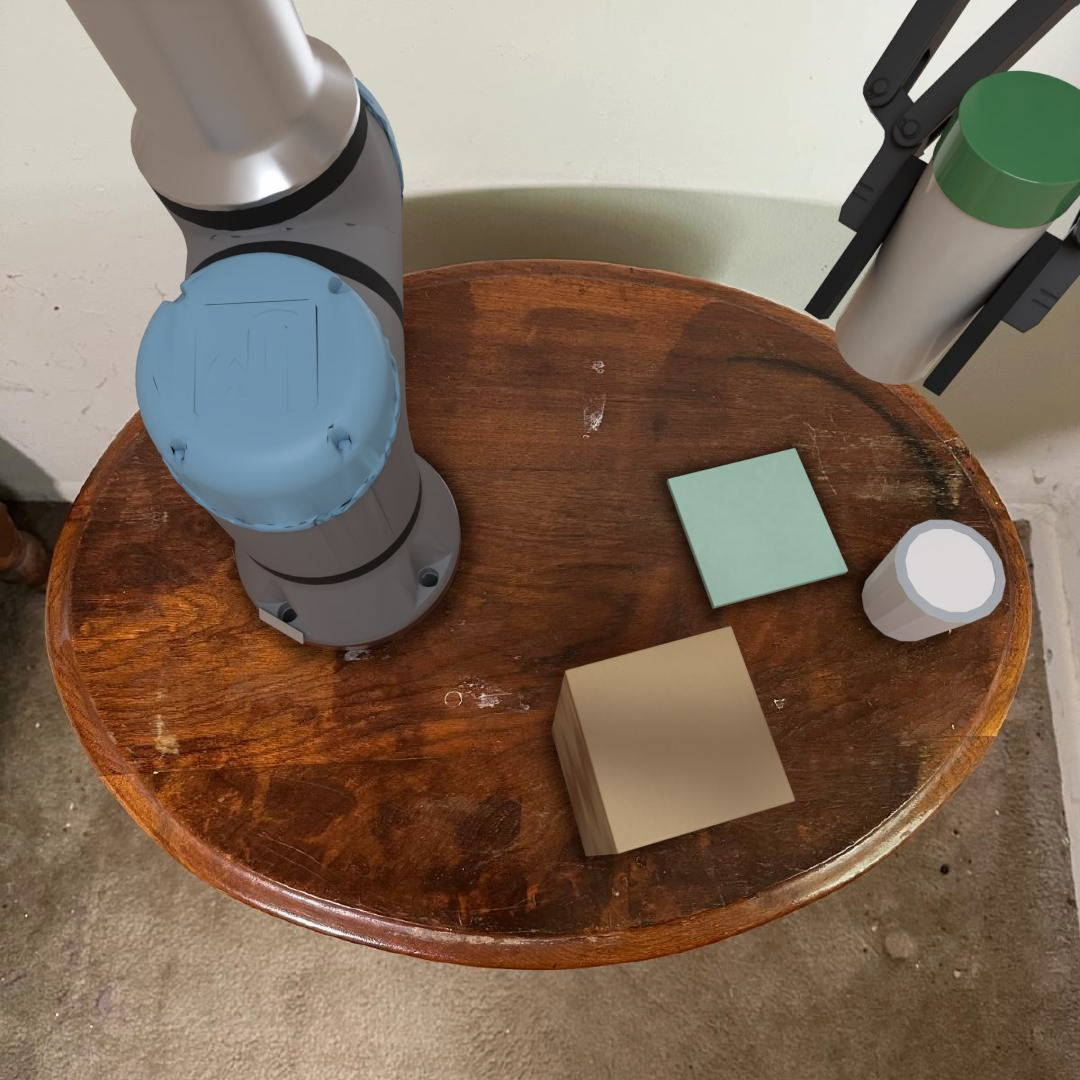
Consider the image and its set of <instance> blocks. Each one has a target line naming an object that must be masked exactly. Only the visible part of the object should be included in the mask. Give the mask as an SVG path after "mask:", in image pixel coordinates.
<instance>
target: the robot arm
mask: <svg viewBox="0 0 1080 1080" xmlns="http://www.w3.org/2000/svg"><path fill="white" fill-rule="evenodd" d="M65 2H66V3H67V5H68V6H69V8H70V10H71V11H72V12H73V14H74V16H75V18H76V19H77V20H78V22H79V23H80V25H81V27H82V28H83V30H84V31H85V33H86V34H87V36H88V37H89V39H90V40H91V42H92V44H93V45H94V46H95V48H96V49H97V51H98V52H99V54H100V56H101V57H102V58H103V60H104V62H105V63H106V64H107V66H108V67H109V69H110V71H111V72H112V74H113V75H114V77H115V78H116V80H117V81H118V83H119V84H120V86H121V87H122V89H123V90H124V92H125V93H126V95H127V97H128V98H129V100H130V101H131V102H132V104H133V106H134V107H135V109H136V110H135V113H134V115H133V119H132V123H131V128H130V142H129V143H130V149H131V153H132V156H133V159H134V161H135V164H136V167H137V169H138V170H139V173H141V175H142V177H143V178H144V179H145V181H146V182H147V184H148V185H149V186H150V188H151V190H152V191H153V192H154V194H155V195H156V196H157V198H158V199H159V201H160V202H161V203H162V205H163V206H164V208H165V209H166V210H167V212H168V213H169V215H170V216H171V218H172V219H173V220H174V222H175V223H176V225H177V226H178V228H179V230H180V232H181V233H182V235H183V238H184V241H185V246H186V251H187V252H186V262H185V273H184V280H183V281H182V282H181V283H180V285H179V289H180V292H181V293H180V294H179V296H177V297H176V298H175V299H174V300H173V301H171V300H163V301H161V302H160V304H159V305H158V307H157V308H156V309H155V311H154V312H153V314H152V315H151V318H150V320H149V321H148V324H147V326H146V328H145V330H144V332H143V334H142V337H141V340H140V343H139V347H138V350H137V356H136V361H135V376H134V379H135V381H134V382H135V385H134V386H135V394H136V400H137V405H138V408H139V412H140V416H141V419H142V423H143V424H144V427H145V429H146V431H147V434H148V436H149V438H150V439H151V441H152V442H153V444H154V446H155V448H156V450H157V452H158V453H159V454H160V455H161V459H162V461H163V463H164V464H165V465H166V467H167V468H168V470H169V472H170V474H171V476H172V477H173V478H174V480H175V481H176V483H177V484H178V485H180V487H181V488H183V489H184V491H185V492H186V493H187V494H188V495H189V496H190V498H192V500H193V501H194V502H195V503H197V504H198V505H200V506H201V507H203V508H204V509H205V510H206V511H207V512H208V514H209V515H210V516H211V517H212V518H213V519H214V520H215V521H216V522H217V523H218V524H219V526H220V527H221V528H222V529H223V530H224V531H225V532H226V533H227V534H228V535H229V536H230V538H232V540H234V555H235V563H236V568H237V572H238V575H239V579H240V582H241V584H242V586H243V588H244V591H245V593H246V594H247V596H248V599H249V600H250V602H251V603H252V604H253V605H254V606H255V608H256V609H257V610H258V614H259V615H258V617H259V620H261V621H262V622H265V624H268V625H269V626H271V627H273V628H275V629H276V630H278V631H280V632H281V633H283V634H285V635H286V636H288V637H289V638H292V639H293V640H294V641H296V642H298V643H299V644H302V645H304V644H305V645H308V646H311V647H315V648H318V649H324V650H331V651H356V650H365V649H369V648H374V647H377V646H381V645H385V644H387V643H389V642H391V641H394V640H396V639H398V638H400V637H402V636H404V635H406V634H407V633H409V632H410V631H412V630H414V629H415V628H416V627H417V626H419V625H420V624H422V623H423V622H424V621H425V620H426V619H427V618H428V617H429V616H430V615H431V614H433V612H434V611H435V610H436V609H437V607H438V606H439V605H440V604H441V603H442V601H443V600H444V598H445V597H446V595H447V594H448V592H449V590H450V589H451V586H452V584H453V582H454V579H455V578H456V575H457V572H458V568H459V565H460V560H461V554H462V529H461V523H460V518H459V512H458V508H457V506H456V502H455V499H454V497H453V495H452V493H451V491H450V489H449V487H448V485H447V484H446V482H445V481H444V480H443V478H442V477H441V475H440V474H439V472H437V471H436V470H435V468H434V467H433V466H432V465H431V464H430V463H429V462H427V460H425V459H424V458H423V457H422V456H420V455H419V454H417V453H416V452H415V448H414V444H413V440H412V437H411V433H410V428H409V419H408V410H407V395H406V393H407V391H406V390H407V389H406V357H405V356H406V355H405V354H406V353H405V352H406V351H405V329H404V328H405V325H404V317H405V315H404V266H403V265H404V264H403V263H404V261H403V259H404V258H403V212H402V211H403V207H404V194H403V193H404V188H405V182H404V180H405V179H404V170H403V163H402V160H401V156H400V153H399V148H398V146H397V141H396V138H395V137H396V136H395V134H394V131H393V127H392V126H391V123H390V120H389V119H388V116H387V114H386V113H385V111H384V109H383V107H382V106H381V105H380V103H379V102H378V100H377V99H376V97H375V96H374V95H373V93H372V92H371V91H370V90H369V89H368V88H367V86H365V85H364V84H363V83H362V81H361V80H359V79H358V77H356V76H355V75H354V72H353V71H352V69H351V67H350V66H349V64H348V62H347V61H346V59H345V58H344V57H343V56H342V55H341V54H340V53H339V52H338V50H336V49H335V48H334V47H332V46H331V45H330V44H328V43H327V42H325V41H323V40H321V39H319V38H317V37H315V36H312V35H310V34H307V33H306V32H305V29H304V26H303V23H302V21H301V18H300V16H299V13H298V11H297V8H296V6H295V3H294V0H65ZM970 2H971V0H916V1H915V2H914V4H913V5H912V7H911V9H910V10H909V12H908V13H907V15H906V17H905V18H904V19H903V21H902V22H901V24H900V26H899V28H898V29H897V30H896V32H895V34H894V35H893V37H892V39H891V40H890V42H889V43H888V44H887V46H886V48H885V49H884V51H883V53H882V54H881V55H880V57H879V59H878V60H877V61H876V63H875V65H874V67H873V68H872V70H871V71H870V73H869V75H867V77H866V79H865V81H864V83H863V86H862V97H863V98H864V101H865V103H866V105H867V107H868V109H869V112H870V114H872V116H873V117H874V118H875V120H876V121H877V122H878V123H879V125H880V126H881V128H882V129H883V132H884V134H883V135H884V136H883V142H882V144H881V146H880V147H879V149H878V151H877V153H876V154H875V156H874V157H873V159H872V160H871V162H870V163H869V164H868V166H867V167H866V170H865V171H864V172H863V174H862V175H861V177H860V178H859V180H858V181H857V183H856V184H855V185H854V187H853V189H852V190H851V192H849V194H848V196H847V198H846V199H845V200H844V202H843V203H842V205H841V208H840V211H839V215H838V220H837V222H838V223H840V224H841V225H843V226H844V227H846V228H848V229H849V230H851V231H853V232H854V233H855V234H854V235H853V237H852V239H851V240H850V241H849V243H848V245H847V246H846V247H845V249H844V250H843V252H842V253H841V255H840V256H839V257H838V259H837V260H836V262H835V264H834V265H833V266H832V268H831V269H830V271H829V272H828V274H827V275H826V277H825V278H824V279H823V281H822V282H821V284H820V285H819V287H818V288H817V290H816V291H815V293H814V294H813V296H812V297H811V298H810V300H809V301H808V303H807V304H806V306H805V307H804V309H803V311H805V312H806V313H807V314H809V315H811V316H812V317H814V318H815V319H817V320H819V321H823V320H829V319H830V317H831V316H832V314H833V313H834V312H835V310H836V309H837V307H838V306H839V305H840V304H841V302H842V301H843V299H844V298H845V296H846V295H847V293H848V292H849V291H850V289H851V288H852V286H853V285H854V283H855V282H856V281H857V280H858V278H859V276H860V275H861V274H862V272H863V271H864V269H865V268H866V266H867V265H869V264H868V263H869V262H871V260H872V259H873V257H874V256H875V254H876V253H877V251H878V249H879V247H880V246H881V244H882V242H883V240H884V239H885V237H886V235H887V234H888V232H889V230H890V228H891V227H892V225H893V223H894V221H895V220H896V218H897V216H898V215H899V213H900V211H901V209H902V208H903V206H904V204H905V202H906V201H907V199H908V197H909V195H910V194H911V192H912V190H913V189H914V187H915V185H916V183H917V182H918V180H919V178H920V176H921V175H922V173H923V171H924V170H925V168H926V166H927V164H928V163H929V162H927V161H925V160H923V159H921V157H922V156H925V150H927V149H928V148H929V147H930V146H931V145H932V144H933V143H934V142H935V141H936V140H938V139H939V138H940V136H941V134H942V133H943V131H944V129H945V127H946V126H947V124H948V122H949V120H950V119H951V117H952V115H953V113H954V112H955V110H956V108H957V106H958V105H959V103H960V101H961V99H962V98H963V96H964V95H965V93H966V92H967V91H968V90H969V88H970V87H971V86H973V85H974V84H975V83H977V82H978V81H979V80H981V79H983V78H985V77H987V76H990V75H992V74H996V73H1000V72H1006V71H1010V70H1011V68H1012V67H1014V65H1015V64H1017V63H1018V62H1019V61H1020V60H1021V59H1022V58H1023V57H1024V56H1025V55H1026V54H1027V53H1028V52H1030V50H1031V49H1033V47H1034V46H1036V44H1038V43H1039V42H1040V41H1041V40H1042V39H1043V38H1044V37H1045V36H1046V35H1047V34H1048V33H1049V32H1051V31H1052V29H1053V28H1054V27H1055V26H1056V25H1058V23H1059V22H1061V21H1062V20H1063V19H1064V18H1065V17H1066V16H1067V15H1068V14H1069V13H1070V12H1071V11H1072V10H1073V9H1074V8H1076V7H1079V6H1080V0H1015V1H1014V2H1013V3H1012V4H1011V5H1010V7H1008V8H1007V9H1006V10H1005V12H1003V13H1002V14H1001V15H1000V16H999V17H998V18H997V19H996V20H995V21H994V22H993V23H992V24H991V26H989V27H988V28H987V29H986V30H985V31H984V32H983V33H982V34H981V35H980V36H979V37H978V38H977V39H976V40H975V41H974V42H973V43H972V44H971V45H970V46H969V47H968V48H967V49H966V50H965V51H964V53H962V54H961V55H960V56H959V57H958V58H957V59H956V60H955V61H954V62H953V63H952V64H951V65H950V66H949V67H948V68H947V69H946V70H945V71H944V72H943V73H942V74H941V75H940V76H939V77H938V78H937V79H936V80H935V81H934V82H933V83H932V84H931V85H930V86H929V87H928V88H927V89H926V90H925V91H923V93H922V94H921V95H920V96H919V97H918V98H917V99H916V100H914V101H913V99H912V98H911V96H910V95H909V93H910V92H911V90H912V89H913V87H914V86H915V84H916V83H917V81H918V80H919V78H921V75H922V74H923V72H924V71H925V70H926V68H927V66H928V65H929V63H930V62H931V60H932V59H933V57H934V56H935V55H936V52H937V51H938V50H939V49H940V47H941V45H942V43H943V42H944V40H945V39H946V38H947V36H948V35H949V33H950V32H951V30H952V28H953V27H954V26H955V24H956V23H957V21H958V20H959V18H960V17H961V15H962V13H963V12H965V11H964V10H965V9H966V8H967V7H968V5H969V3H970ZM1079 277H1080V208H1079V209H1078V211H1077V213H1076V214H1075V217H1074V219H1073V221H1072V223H1071V225H1070V227H1069V228H1068V231H1067V233H1066V234H1065V235H1064V237H1063V238H1062V239H1061V238H1060V237H1058V236H1057V235H1054V234H1053V233H1051V232H1049V231H1048V230H1047V231H1046V232H1045V233H1044V234H1043V235H1042V236H1041V237H1040V239H1039V240H1038V241H1037V242H1036V244H1035V245H1034V246H1033V247H1032V248H1031V250H1030V251H1029V252H1028V253H1027V254H1026V256H1025V257H1024V258H1023V259H1022V260H1021V262H1020V263H1019V264H1018V265H1017V266H1016V268H1015V269H1014V270H1013V271H1012V273H1011V274H1010V275H1009V276H1008V277H1007V279H1006V280H1005V281H1004V282H1003V283H1002V285H1001V286H1000V287H999V288H998V289H997V291H996V292H995V293H994V294H993V295H992V297H991V298H990V299H989V300H988V302H987V303H986V304H985V305H984V306H983V308H982V309H981V310H980V311H979V313H978V314H977V315H976V316H975V318H974V319H973V320H972V321H971V322H970V324H969V325H968V326H967V327H966V329H965V330H964V331H963V332H962V333H961V335H960V336H959V337H958V338H957V339H956V341H955V342H954V343H953V344H952V345H951V347H950V348H949V349H948V350H947V351H946V353H945V354H944V355H943V356H942V357H941V359H940V360H939V361H938V362H937V364H936V365H935V366H934V367H933V368H932V370H931V371H930V372H929V373H928V376H927V377H926V378H925V379H924V381H923V383H922V387H923V388H925V389H926V390H928V391H929V392H931V393H932V394H934V395H936V396H937V397H940V396H941V395H942V394H943V393H944V392H945V390H946V389H947V388H948V386H950V384H951V383H953V382H952V381H954V379H955V378H956V377H957V375H958V374H960V372H961V371H962V370H963V369H964V367H965V366H966V364H967V363H968V362H969V361H970V359H971V358H972V357H973V356H974V354H976V352H977V351H978V350H979V349H980V347H981V346H982V345H983V343H984V342H985V341H986V340H987V338H988V337H990V335H991V334H992V332H993V331H994V330H995V329H996V327H997V326H998V325H999V324H1000V322H1003V323H1005V324H1006V325H1007V326H1010V327H1011V328H1013V329H1014V330H1016V331H1018V332H1020V333H1021V334H1026V333H1027V332H1029V331H1030V330H1032V329H1033V328H1035V327H1036V326H1038V325H1040V323H1041V322H1042V321H1043V320H1044V319H1045V317H1046V316H1047V315H1048V314H1049V312H1051V310H1052V309H1053V308H1054V307H1055V305H1056V304H1057V303H1058V302H1059V300H1060V299H1061V298H1062V297H1063V296H1064V295H1065V293H1066V292H1067V291H1068V290H1069V289H1070V287H1071V286H1072V285H1073V284H1074V283H1075V281H1077V279H1078V278H1079Z"/></svg>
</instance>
